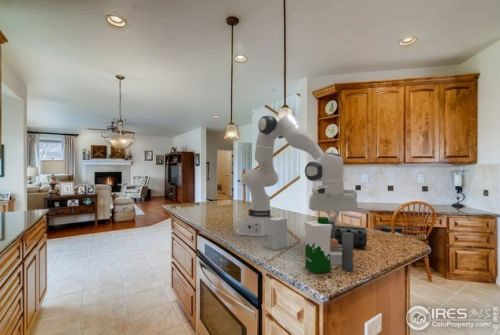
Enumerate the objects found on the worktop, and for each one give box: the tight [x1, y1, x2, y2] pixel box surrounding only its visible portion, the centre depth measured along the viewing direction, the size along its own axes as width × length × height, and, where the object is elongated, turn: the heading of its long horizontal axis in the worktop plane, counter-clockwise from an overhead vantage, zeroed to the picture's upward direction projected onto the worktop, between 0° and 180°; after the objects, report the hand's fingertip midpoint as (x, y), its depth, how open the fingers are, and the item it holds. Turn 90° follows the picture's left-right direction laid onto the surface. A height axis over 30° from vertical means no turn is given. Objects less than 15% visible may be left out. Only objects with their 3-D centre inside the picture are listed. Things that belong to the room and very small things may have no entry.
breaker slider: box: [330, 239, 339, 249], centre depth 103 cm, size 3×3×4 cm
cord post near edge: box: [341, 232, 354, 273], centre depth 92 cm, size 4×4×14 cm
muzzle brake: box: [335, 225, 368, 249], centre depth 123 cm, size 10×28×10 cm, turn 73°
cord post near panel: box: [328, 220, 336, 239], centre depth 114 cm, size 4×4×14 cm
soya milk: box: [304, 216, 332, 274], centre depth 92 cm, size 9×9×20 cm
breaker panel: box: [330, 244, 342, 266], centre depth 104 cm, size 11×14×6 cm
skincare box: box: [267, 215, 288, 251], centre depth 117 cm, size 8×6×15 cm
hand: (333, 221), depth 103 cm, fingers closed
